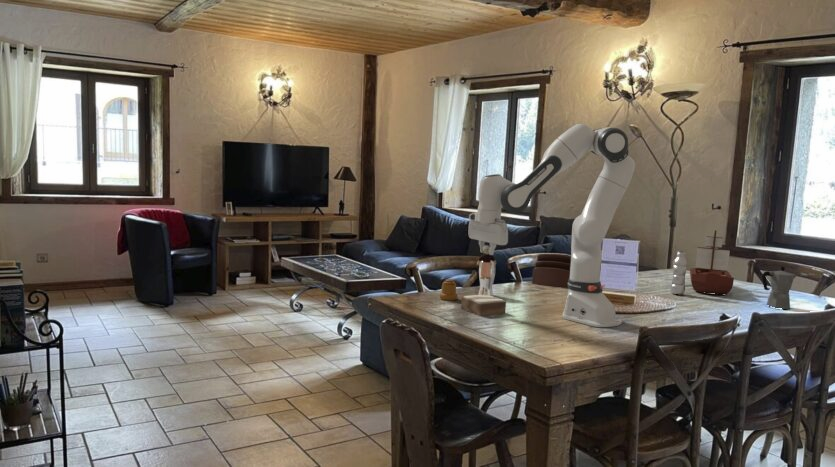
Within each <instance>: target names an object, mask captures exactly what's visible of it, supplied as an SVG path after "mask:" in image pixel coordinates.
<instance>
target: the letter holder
mask: <svg viewBox="0 0 835 467" xmlns="http://www.w3.org/2000/svg"><path fill="white" fill-rule="evenodd" d="M570 267H571V255H565V254H557V253H542V254H541V253H539V254H538V255H537V259H536V262H535V264H534V268H533V269H532V278H531V284H534V285H542V286H548V287H549V286H550V287H559V288H566V289H568V279H569V278H570Z"/></svg>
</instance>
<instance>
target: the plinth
mask: <svg viewBox="0 0 835 467" xmlns="http://www.w3.org/2000/svg"><path fill="white" fill-rule="evenodd" d="M460 303H461V305H460V306H461V310H464V311H466V312H468V311H469V313H470V314H473V313H474V314H473V315H476V316H478V317H484V316H485V315H486V316H492V315H501V314H506V307H507V306H506V305H507V302H506V301H505V300H504V299H501V298H499V297H495V296H490V295H487V294H483V295H479V294H475V295H464V296H463V297H461V302H460Z"/></svg>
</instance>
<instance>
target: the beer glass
mask: <svg viewBox="0 0 835 467" xmlns="http://www.w3.org/2000/svg"><path fill="white" fill-rule="evenodd" d="M496 264H497V263H496ZM496 264H494V262H493V261H491V274H490V277H491V279H486V278H485V279H480V277H481V266H482V261H481V262H480V263H479V265H478V266H479V267H478V277H479V290H478V295H483V294H487V295H490V296H493V295H494V293H493V285H494V281H495V276H496ZM493 297H494V296H493Z"/></svg>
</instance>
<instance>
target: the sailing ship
mask: <svg viewBox="0 0 835 467" xmlns="http://www.w3.org/2000/svg"><path fill="white" fill-rule="evenodd" d="M723 238H724V237H720V236H719V237H718V236H717V230H713V236H706V240H705V241H706V242H705V247H704V246H703V247H701V246H697V247H696V248H697V250H696V257H695V267H694V268H693V267H692V268H690V269H689V276H690V282H691V283H690V284H691V287H692V289H693V291H694V292H695V291H698V292H697V293H700V292H705V293H704V294H706V293H715V294H726V295H727V294H729V292H731V290H732V288H733V286H734V282H735V281H734V280H735V279H734V278H735V277H733V276H732V275H731V273H730V272H728V271H729V260H730V252H731V251H730V250H731V249H725V248H723Z"/></svg>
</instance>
